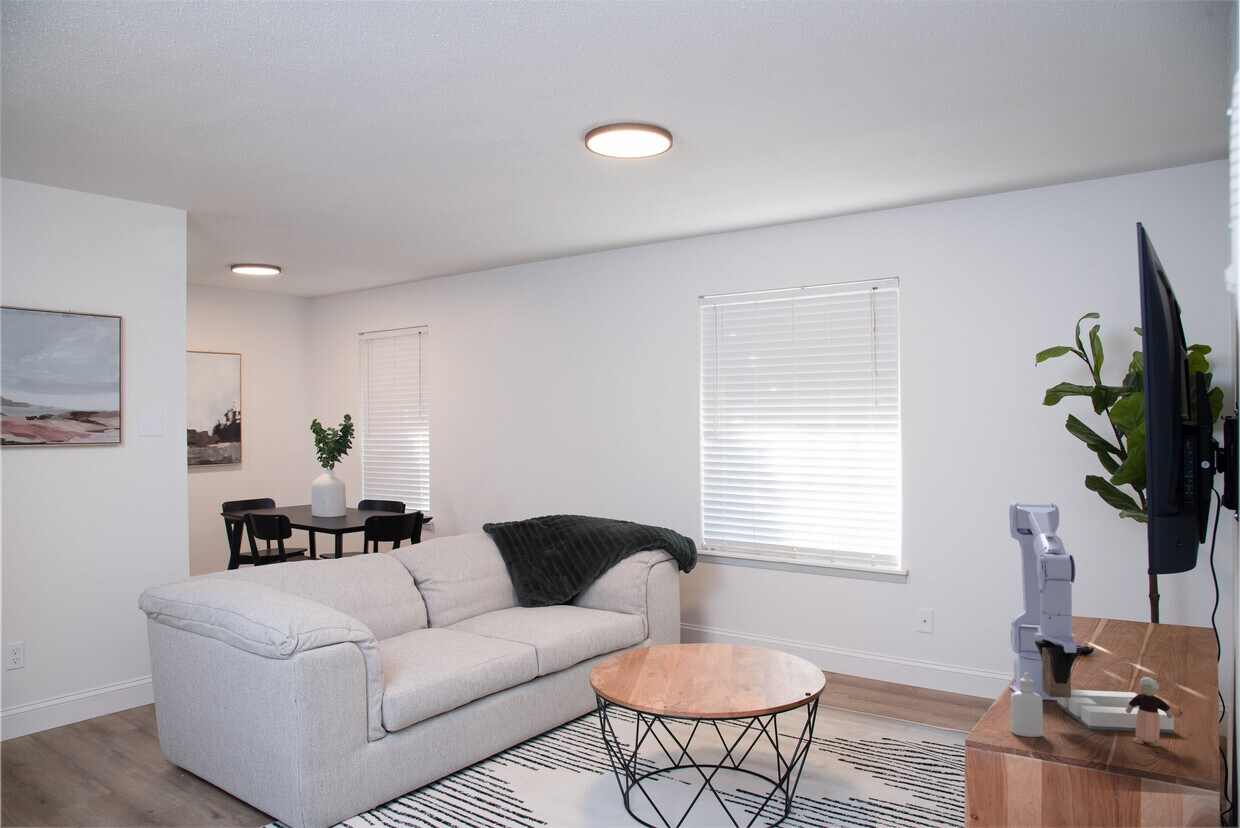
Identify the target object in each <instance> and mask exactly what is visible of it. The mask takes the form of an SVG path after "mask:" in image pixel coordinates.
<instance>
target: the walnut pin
mask: <svg viewBox="0 0 1240 828" xmlns="http://www.w3.org/2000/svg"><path fill="white" fill-rule="evenodd" d="M1071 670H1072V669H1071ZM1071 670H1070V674H1069V678H1068V682H1067V684H1061V683H1055V680H1054V676H1053V668H1052V663H1051V659H1050V656H1049V654H1048V652H1047V650H1046V648H1044V647H1042V691H1043V692H1044V693H1045V694H1047V695H1048V696H1050V697H1063V698H1071V690H1072V685H1071V684H1072V671H1071Z"/></svg>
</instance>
